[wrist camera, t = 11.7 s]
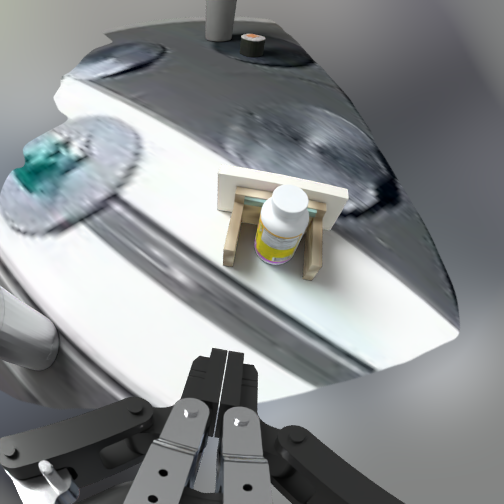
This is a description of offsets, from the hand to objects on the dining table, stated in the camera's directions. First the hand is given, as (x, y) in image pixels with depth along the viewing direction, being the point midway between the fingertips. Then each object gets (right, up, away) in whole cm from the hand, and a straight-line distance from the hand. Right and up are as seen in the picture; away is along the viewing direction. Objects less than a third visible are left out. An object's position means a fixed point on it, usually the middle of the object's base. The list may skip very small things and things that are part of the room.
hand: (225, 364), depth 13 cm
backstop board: (+5, +12, +37) cm, 39 cm away
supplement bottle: (+5, +6, +34) cm, 35 cm away
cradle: (+4, +6, +34) cm, 35 cm away
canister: (-13, +93, +80) cm, 124 cm away
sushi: (+1, +78, +73) cm, 107 cm away
